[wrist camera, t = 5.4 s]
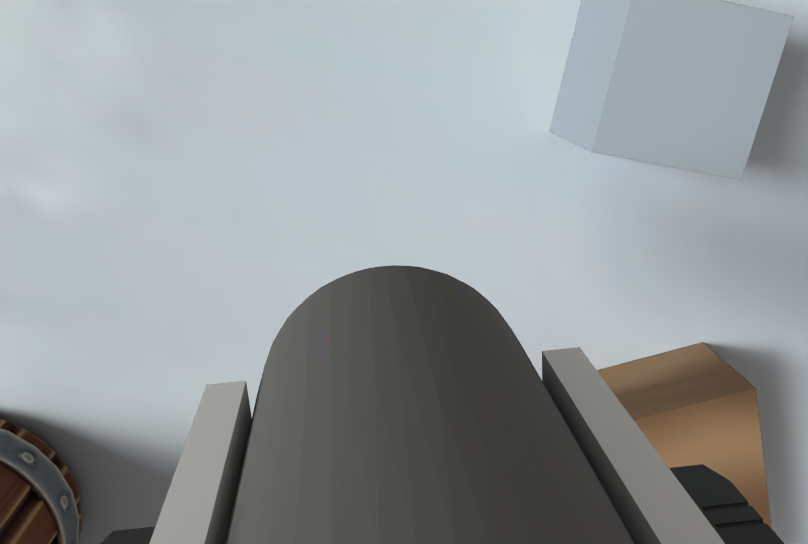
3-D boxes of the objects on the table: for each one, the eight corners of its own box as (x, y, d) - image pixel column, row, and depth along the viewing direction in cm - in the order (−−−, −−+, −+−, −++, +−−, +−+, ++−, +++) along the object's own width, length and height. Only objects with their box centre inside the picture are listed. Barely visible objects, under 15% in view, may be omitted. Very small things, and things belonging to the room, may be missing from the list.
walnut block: (467, 405, 37) (485, 459, 33) (702, 342, 37) (755, 388, 33) (514, 596, 41) (537, 670, 36) (729, 539, 41) (780, 606, 36)
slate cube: (583, -10, 32) (636, -19, 26) (714, 18, 33) (793, 16, 27) (548, 131, 34) (591, 152, 28) (674, 155, 35) (741, 180, 29)
